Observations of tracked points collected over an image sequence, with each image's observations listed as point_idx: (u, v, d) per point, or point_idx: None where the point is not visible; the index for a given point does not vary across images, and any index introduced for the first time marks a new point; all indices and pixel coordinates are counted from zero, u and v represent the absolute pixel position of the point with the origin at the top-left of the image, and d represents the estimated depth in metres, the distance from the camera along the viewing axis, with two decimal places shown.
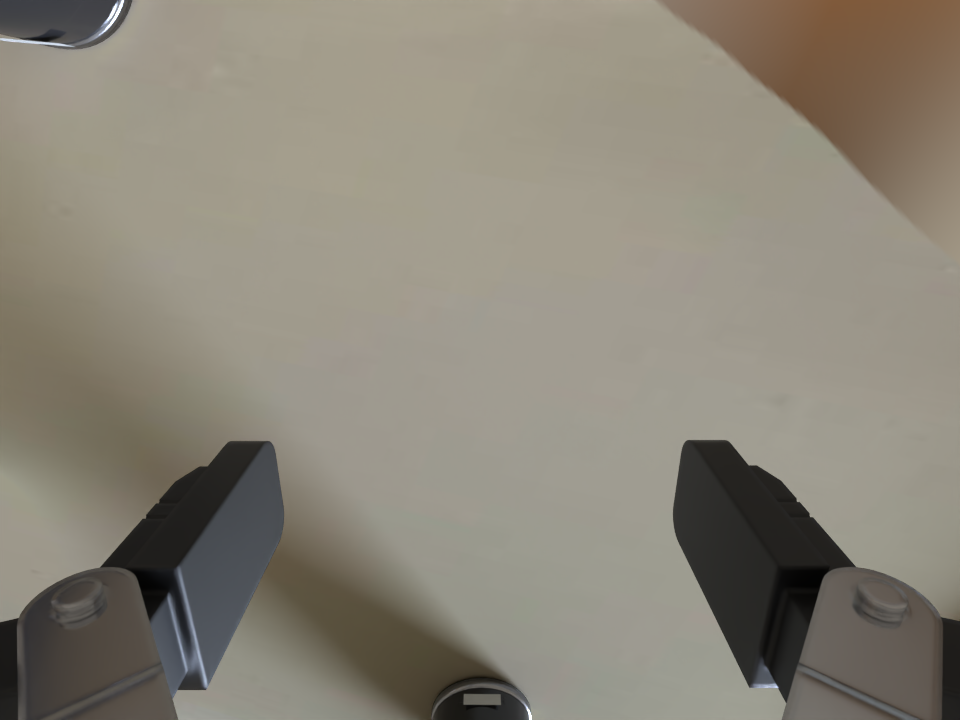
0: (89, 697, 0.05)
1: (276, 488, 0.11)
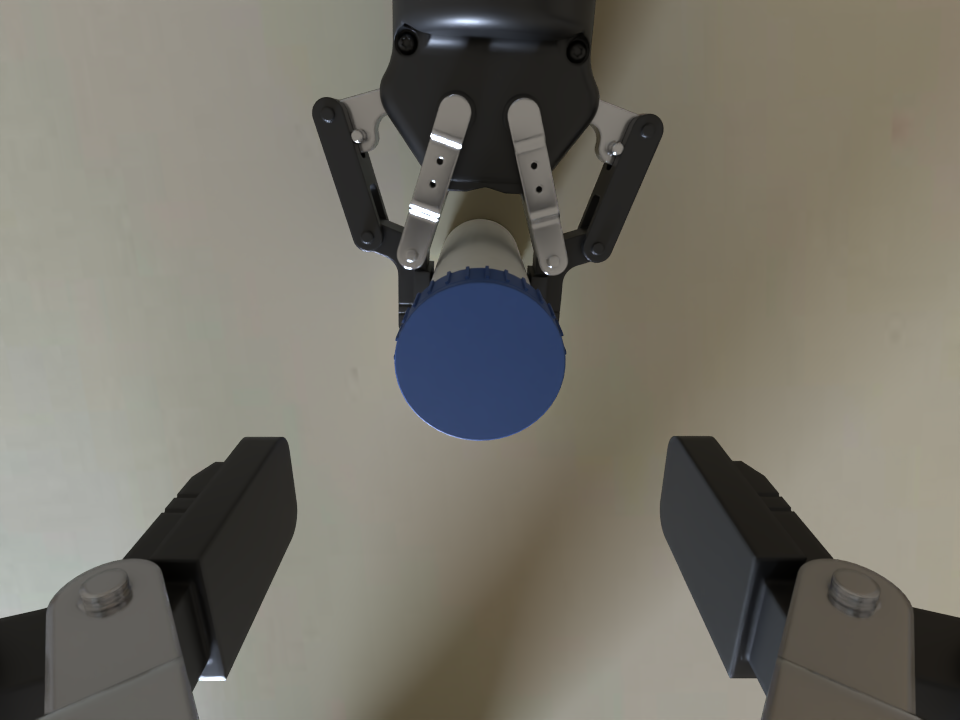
0: (112, 687, 0.05)
1: (290, 483, 0.11)
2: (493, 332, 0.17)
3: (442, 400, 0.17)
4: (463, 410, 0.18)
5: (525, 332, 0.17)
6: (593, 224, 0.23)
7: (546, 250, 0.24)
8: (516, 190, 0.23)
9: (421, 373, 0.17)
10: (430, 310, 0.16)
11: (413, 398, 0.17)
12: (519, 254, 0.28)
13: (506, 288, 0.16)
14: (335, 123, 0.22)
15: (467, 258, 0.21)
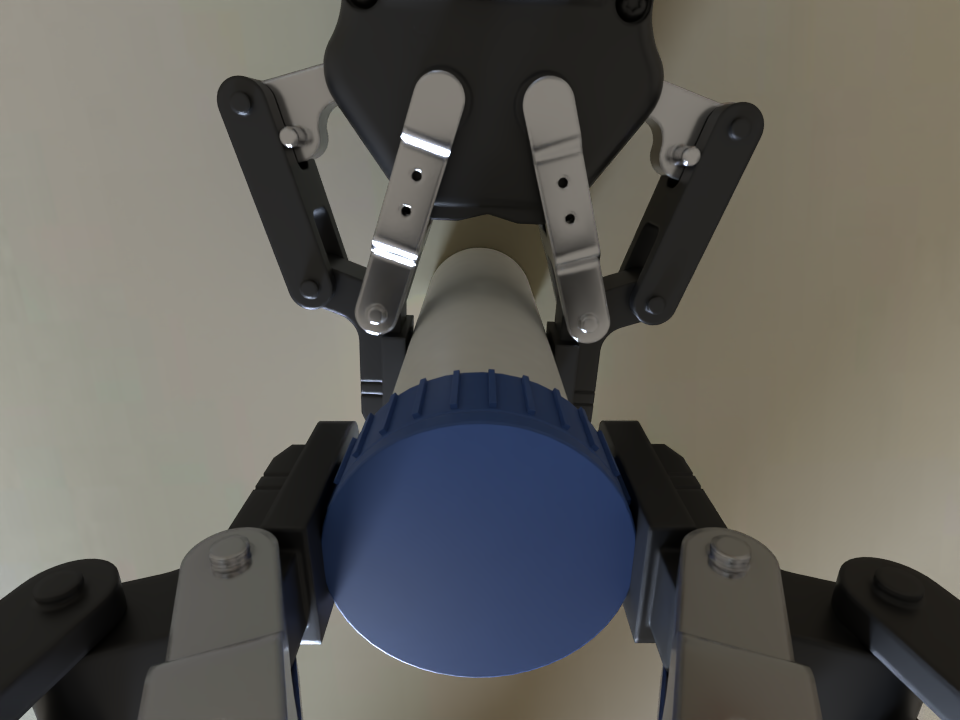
0: (219, 649, 0.06)
1: None
2: (504, 508, 0.09)
3: (410, 617, 0.10)
4: (449, 632, 0.10)
5: (564, 509, 0.09)
6: (650, 270, 0.15)
7: (578, 307, 0.16)
8: (534, 219, 0.15)
9: (370, 575, 0.09)
10: (383, 471, 0.09)
11: (357, 615, 0.10)
12: (534, 302, 0.20)
13: (530, 432, 0.08)
14: (253, 117, 0.14)
15: (459, 330, 0.13)
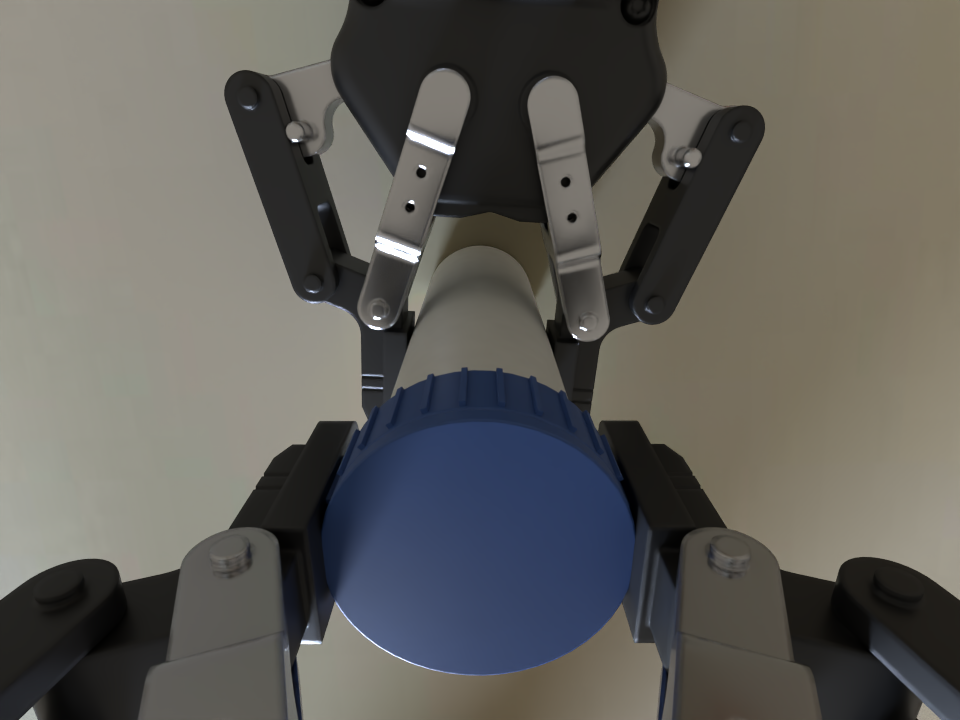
0: (219, 649, 0.06)
1: None
2: (429, 518, 0.09)
3: (508, 632, 0.10)
4: (543, 614, 0.10)
5: (455, 472, 0.09)
6: (650, 269, 0.16)
7: (578, 306, 0.16)
8: (536, 217, 0.15)
9: (445, 639, 0.10)
10: (346, 585, 0.09)
11: (482, 665, 0.10)
12: (534, 300, 0.20)
13: (360, 468, 0.09)
14: (260, 111, 0.14)
15: (460, 326, 0.14)
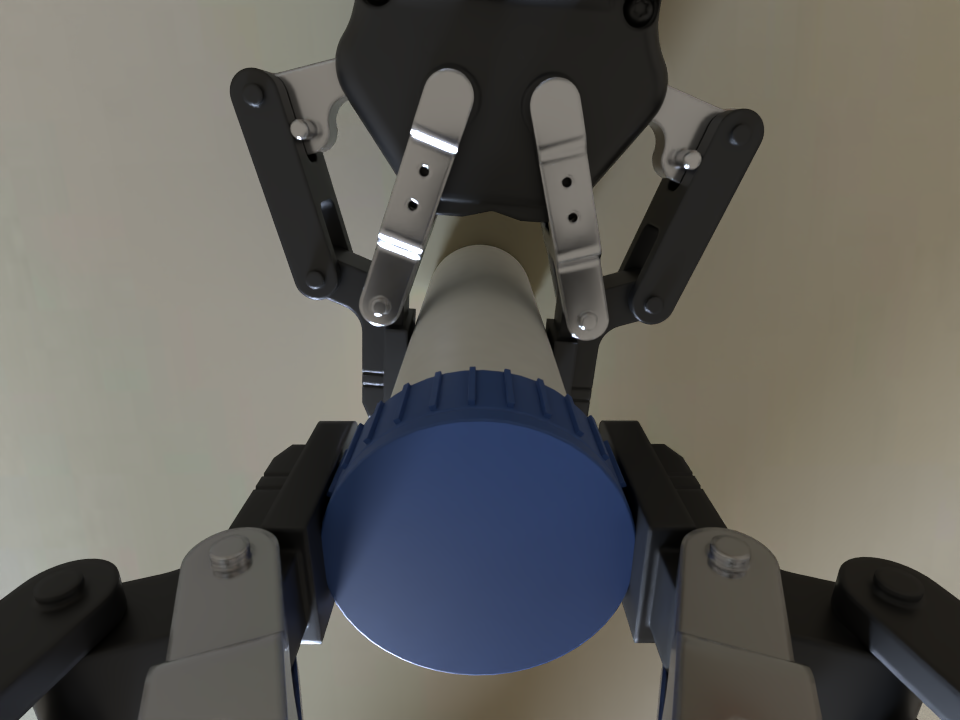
0: (219, 649, 0.06)
1: None
2: (412, 576, 0.09)
3: (577, 571, 0.09)
4: (572, 535, 0.09)
5: (374, 538, 0.09)
6: (649, 270, 0.16)
7: (578, 305, 0.16)
8: (537, 217, 0.15)
9: (552, 620, 0.10)
10: (449, 660, 0.10)
11: (603, 606, 0.10)
12: (534, 299, 0.20)
13: (338, 599, 0.09)
14: (265, 108, 0.14)
15: (461, 323, 0.14)
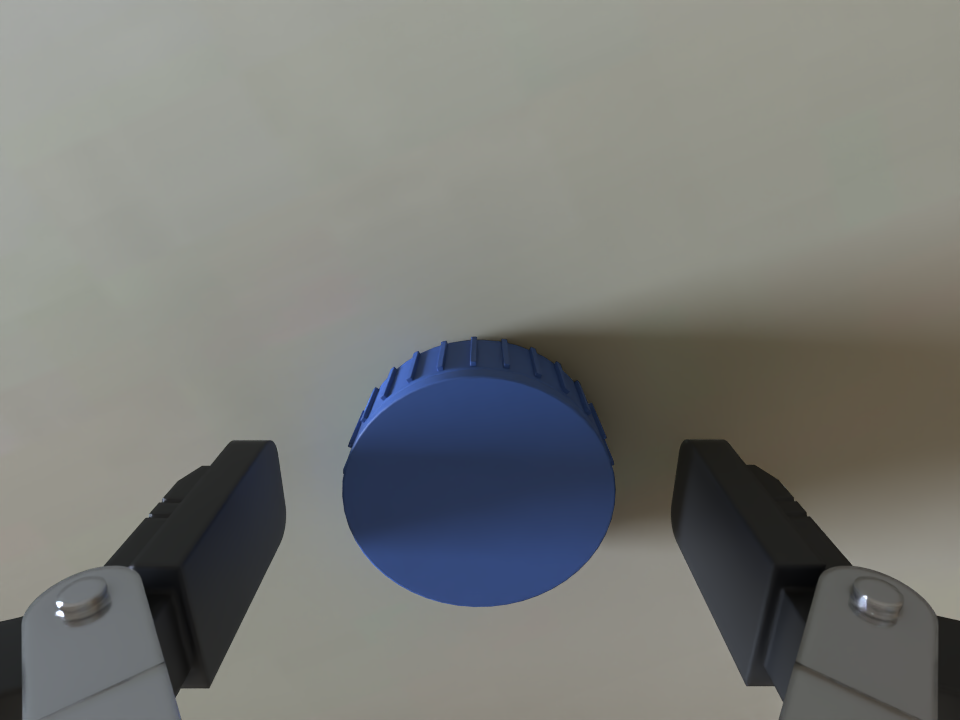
0: (93, 695, 0.05)
1: (278, 487, 0.11)
2: (421, 516, 0.11)
3: (563, 512, 0.11)
4: (559, 479, 0.10)
5: (390, 482, 0.11)
6: None
7: None
8: None
9: (543, 556, 0.11)
10: (453, 593, 0.11)
11: (587, 544, 0.11)
12: None
13: (357, 538, 0.11)
14: None
15: None
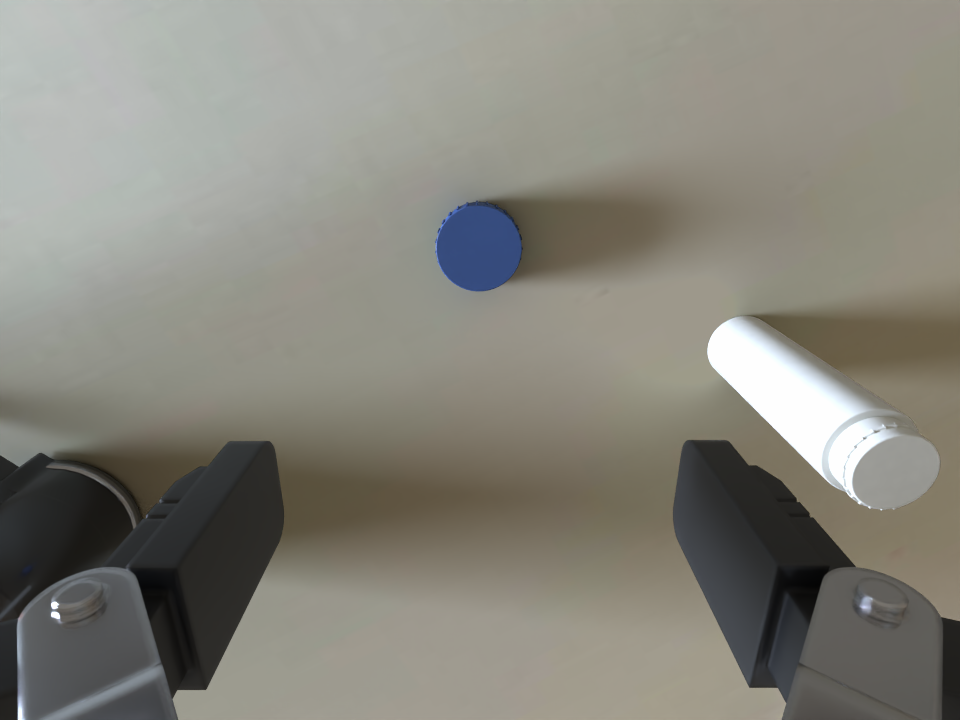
0: (89, 697, 0.05)
1: (276, 488, 0.11)
2: (460, 255, 0.34)
3: (505, 253, 0.34)
4: (503, 241, 0.34)
5: (451, 242, 0.34)
6: None
7: None
8: None
9: (499, 270, 0.34)
10: (470, 285, 0.35)
11: (513, 265, 0.34)
12: None
13: (439, 263, 0.34)
14: None
15: None
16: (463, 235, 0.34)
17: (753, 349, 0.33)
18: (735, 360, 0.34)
